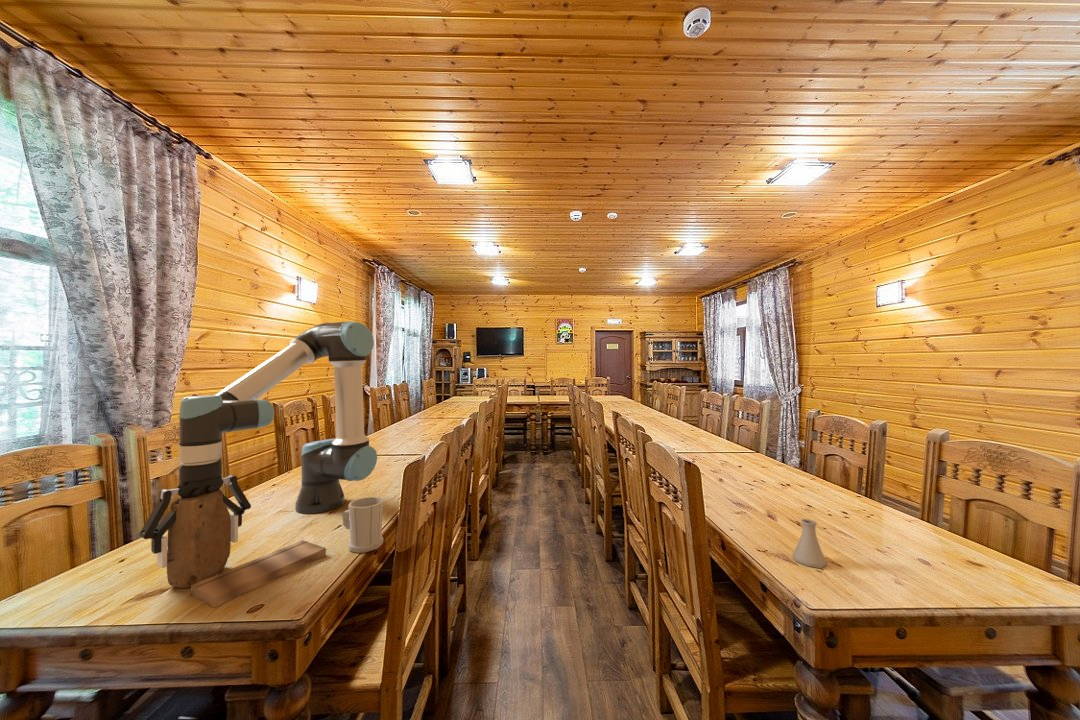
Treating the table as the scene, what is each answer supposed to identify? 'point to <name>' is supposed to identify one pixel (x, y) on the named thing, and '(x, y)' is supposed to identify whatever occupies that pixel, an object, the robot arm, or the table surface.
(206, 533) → the brown pitted rock
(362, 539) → the cup
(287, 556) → the board
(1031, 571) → the table surface
